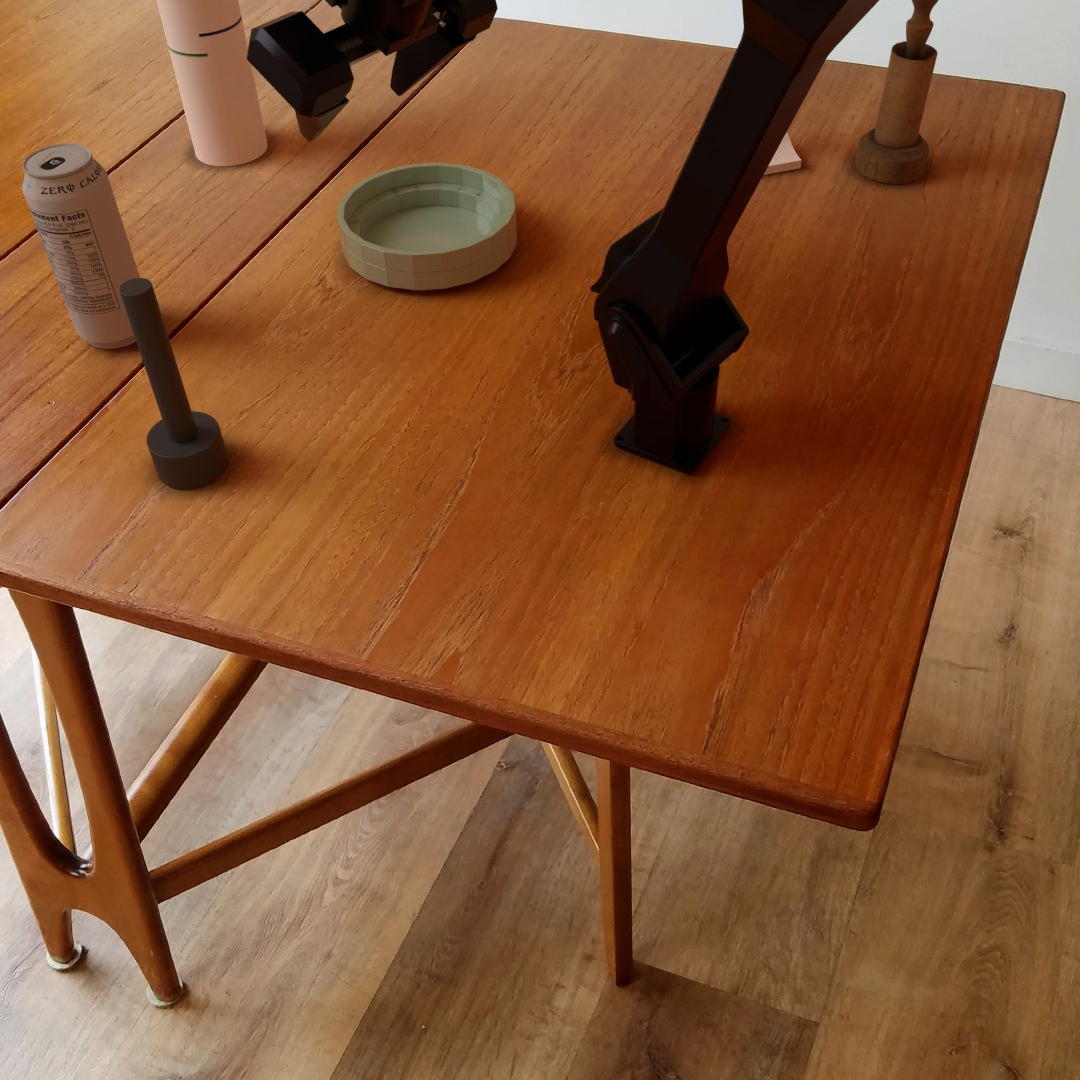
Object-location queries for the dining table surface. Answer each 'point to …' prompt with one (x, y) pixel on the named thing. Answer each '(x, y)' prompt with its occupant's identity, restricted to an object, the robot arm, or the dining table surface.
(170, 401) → the grey rod with base
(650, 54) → the dining table surface
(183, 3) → the cylindrical container
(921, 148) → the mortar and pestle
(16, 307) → the dining table surface
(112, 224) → the energy drink can
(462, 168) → the bowl
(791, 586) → the dining table surface
